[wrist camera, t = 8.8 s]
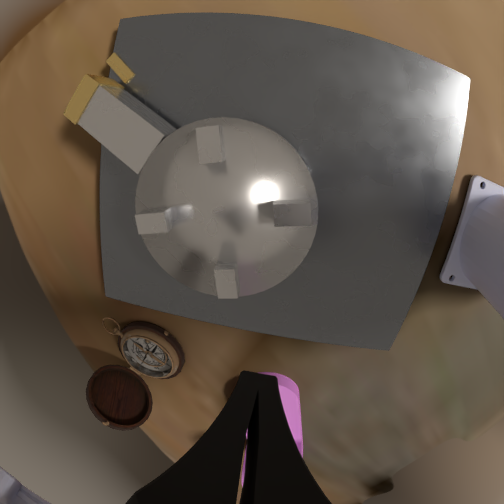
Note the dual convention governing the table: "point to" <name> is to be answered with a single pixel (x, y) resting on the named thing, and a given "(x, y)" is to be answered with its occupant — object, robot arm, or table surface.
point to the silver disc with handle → (207, 191)
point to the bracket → (288, 410)
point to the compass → (133, 375)
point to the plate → (314, 156)
